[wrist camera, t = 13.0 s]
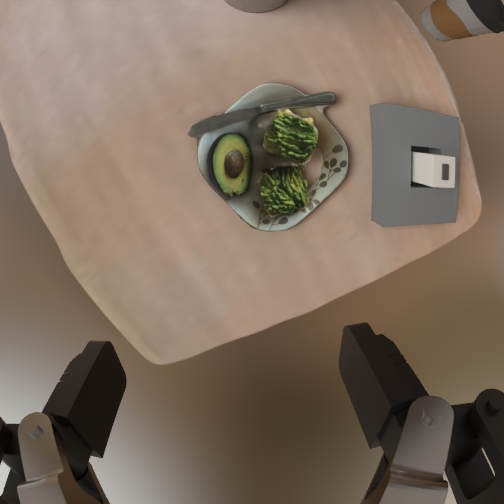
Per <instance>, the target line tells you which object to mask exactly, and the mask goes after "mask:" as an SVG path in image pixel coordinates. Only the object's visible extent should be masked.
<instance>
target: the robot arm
mask: <svg viewBox="0 0 504 504" xmlns="http://www.w3.org/2000/svg"><path fill="white" fill-rule="evenodd" d="M225 1H226V2H227V3H228V4H229V5H231V6H233V7H234V8H236V9H239V10H242V11H247V12H256V13H259V12H267V11H271V10H274V9H276V8H278V7H280V6H281V5H283V4H284V3H285V2H286V1H287V0H225ZM339 370H340V374H341V377H342V379H343V382H344V384H345V387H346V389H347V392H348V394H349V397H350V399H351V402H352V404H353V407H354V409H355V412H356V414H357V417H358V419H359V422H360V424H361V427H362V429H363V432H364V435H365V437H366V440H367V442H368V445H369V448H370V449H371V448H375V447H378V446H381V447H382V449H383V451H384V453H383V455H382V457H381V460H380V462H379V465H378V467H377V469H376V472H375V474H374V476H373V478H372V480H371V483H370V485H369V487H368V489H367V491H366V493H365V495H364V497H363V499H362V501H361V503H360V504H444V502H445V499H446V496H447V492H448V482H447V481H445V480H443V473H444V471H445V473H446V476H447V478H448V481H449V483H450V486H451V488H452V491H453V494H454V496H455V499H456V502H457V504H504V393H503V392H501V391H499V390H497V389H486V390H484V391H483V392H481V393H480V394H479V395H478V397H477V398H476V400H475V401H474V402H473V403H466V404H459V405H450V404H449V403H448V402H447V401H446V400H444V399H442V398H440V397H437V396H429V394H428V393H427V392H426V390H425V389H424V387H423V385H422V384H421V382H420V381H419V379H418V378H417V376H416V375H415V373H414V372H413V370H412V369H411V367H410V366H409V364H408V363H406V360H405V358H404V357H403V355H402V354H400V351H399V349H398V348H397V347H396V345H395V344H394V342H393V341H391V340H390V339H388V338H387V337H385V336H384V335H382V334H380V335H375V333H374V332H373V330H372V329H371V327H370V326H369V324H368V323H359V324H353V325H348V326H345V327H344V330H343V335H342V342H341V349H340V355H339ZM125 388H126V374H125V372H124V369H123V367H122V365H121V363H120V360H119V358H118V356H117V354H116V352H115V349H114V347H113V345H112V343H111V342H109V341H90V342H89V343H88V344H87V346H86V347H85V349H84V351H83V352H82V354H79V355H78V356H76V357H75V358H74V359H73V360H72V361H71V362H70V363H69V365H68V366H67V368H66V370H65V371H64V374H63V375H62V377H61V378H60V382H58V384H57V385H56V387H55V389H54V391H53V392H52V395H51V396H50V398H49V400H48V402H47V404H46V405H45V407H44V409H43V411H42V413H40V412H34V413H31V414H29V415H27V416H26V417H24V418H23V419H22V421H21V422H20V424H6V423H5V422H4V421H3V420H2V418H1V417H0V464H1V461H3V462H4V463H5V464H6V465H7V466H8V467H9V468H11V469H10V472H9V475H8V478H7V481H6V484H5V487H4V491H3V494H2V495H1V496H0V504H110V503H109V501H108V499H107V498H106V495H105V493H104V491H103V489H102V487H101V485H100V483H99V481H98V479H97V477H96V474H95V472H94V470H93V467H92V465H91V464H90V462H89V458H90V455H91V456H95V457H99V458H103V455H104V452H105V448H106V445H107V441H108V438H109V435H110V432H111V429H112V426H113V423H114V420H115V417H116V414H117V411H118V408H119V405H120V402H121V400H122V397H123V394H124V391H125ZM482 448H483V449H484V451H485V453H486V455H487V457H488V459H489V461H490V463H491V465H492V467H493V470H494V472H495V476H494V474H493V473H492V470H491V468H490V466H489V464H488V462H487V459H486V457H485V456H484V453H483V451H482Z"/></svg>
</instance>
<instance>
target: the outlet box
mask: <svg viewBox="0 0 504 504" xmlns="http://www.w3.org/2000/svg"><path fill="white" fill-rule="evenodd" d="M370 114H371V131H372V163H373V185H372V218H371V220H373V221H374V222H376V223H377V224H379V225H381V226H382V227H388V226H404V225H421V224H438V223H456V216H457V206H458V194H459V177H460V131H459V118H458V117H454V116H450V115H446V114H442V113H437V112H432V111H428V110H423V109H417V108H412V107H406V106H400V105H393V104H386V103H380V104H375V105H371V106H370ZM411 152H421V153H430V154H437V155H444V156H450V157H455V185H454V188H441V187H431V186H427V185H424V184H420V183H417V182H414V181H411Z"/></svg>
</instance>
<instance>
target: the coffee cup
mask: <svg viewBox="0 0 504 504" xmlns="http://www.w3.org/2000/svg"><path fill="white" fill-rule="evenodd" d="M421 22H422V25H423V27H424V28H425V30H426V31H427V32H428V33H429V34H430V35H431V36H432V37H433V38H435V39H437V40H440V41H449V40H454V39H461V38H466V37H472V36H477V35H480V34H487V33H500V32H503V31H504V5H503V3H502V1H501V0H436V1H435V2H433V3H432V4H431V5H430V6H428V7H427V8H426V9H424V10H423V11H422V13H421Z"/></svg>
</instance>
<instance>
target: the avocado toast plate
mask: <svg viewBox="0 0 504 504" xmlns="http://www.w3.org/2000/svg"><path fill="white" fill-rule="evenodd" d="M336 99H337V98H336V95H335V94H334V93H333V92H322V93H317V94H311V95H308V94H304V93H303V92H301V91H299V90H297V89H296V88H293V87H291V86H288V85H283V84H263V85H259V86H257V87H256V88H254V89H253V90H251V91H249V92H248V93H247V94H245V95H244V96H243V97H242V98H241V99H240V100H238V101H237V102H236V103H235V104H234V105H232V106H231V107H230V108H229V109H228V110H227V111H226V112H225V113H224V114H223V115H221V116H212V117H209V118H207V119H204V120H202V121H200V122H198V123H196V124H194V125H193V126H192V127H191V129H190V131H189V133H188V135H189V136H190V137H194V138H195V139H196V140H197V146H198V149H197V160H198V165H199V169H200V172H201V174H202V176H203V177H204V179H205V180H206V182H207V183H208V184H209V185H210V187H211V188H212V189H213V190H214V191H215V192H216V193H217V194H218V195H219V196H220V197H221V198H222V199H223V200H224V201H225V202H226V203H227V204H228V205H229V206H230V207H231V208H232V209H233V210H234V211H235V212H236V213H237V214H238V215H239V216H240V218H241V219H243V220H244V221H245V222H246V223H247V224H249V225H250V226H251V227H252V228H255V229H258V230H262V231H281V230H286V229H289V228H291V227H293V226H294V225H296V224H298V223H299V222H300V221H301V220H303V219H304V218H305V217H306V216H307V215H308V214H309V213H310V212H311V211H312V210H313V209H314V208H316V207H317V206H318V205H319V204H320V203H321V202H322V201H323V200H324V199H325V198H326V197H328V196H329V195H330V194H331V193H332V192H333V191H334V190H335V189H336V188H337V186H338V185H339V184H340V183H341V182H342V181H343V180H344V178H345V176H346V172H347V168H348V147H347V145H346V143H345V141H344V140H343V139H342V137H341V136H340V135H339V133H338V132H337V131H336V129H335V128H334V126H333V125H332V124H331V123H330V122H329V121H328V120H327V118H326V116H325V115H324V112H323V109H324V108H325V107H327V106H330V105H333V104H334V103H335V102H336ZM259 122H260V123H262V124H263V127H258V126H257V123H259ZM316 146H317V147H318V148H319V149H321V150H322V151H323V165H322V169H321V172H320V175H319V177H318V178H317V180H316V182H315V183H314V184H313V185H312V187H311V188H310V189H309V190H308V191H307V189H306V187H307V186H308V182H307V181H306V180H303V177H302V171H301V170H300V169H299V167H298V165H300V166H303V167H305V166H306V165H307V163H308V162H309V161H310V159H311V158H312V156H313V154H314V152H315V149H316ZM270 168H274V169H273V170H270Z"/></svg>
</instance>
